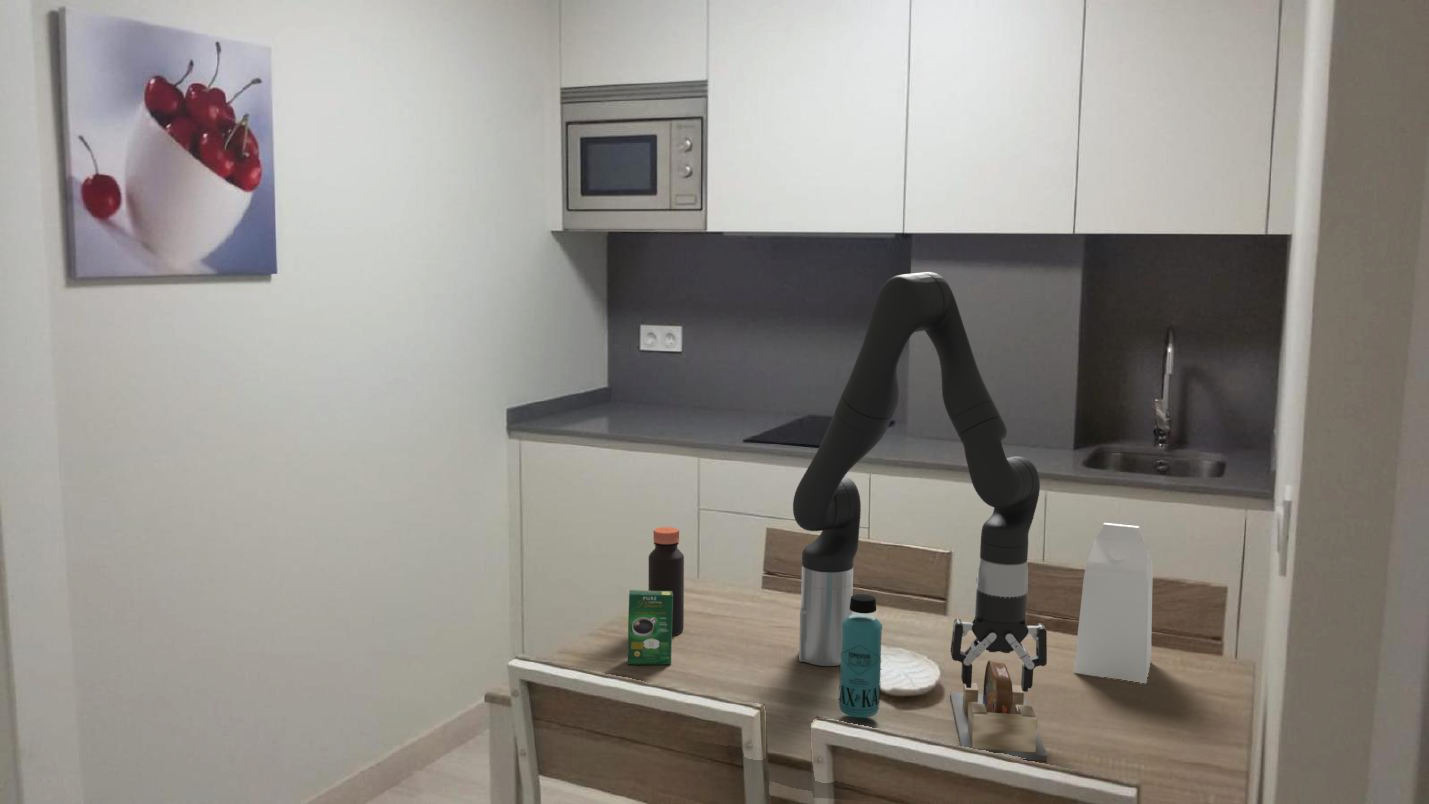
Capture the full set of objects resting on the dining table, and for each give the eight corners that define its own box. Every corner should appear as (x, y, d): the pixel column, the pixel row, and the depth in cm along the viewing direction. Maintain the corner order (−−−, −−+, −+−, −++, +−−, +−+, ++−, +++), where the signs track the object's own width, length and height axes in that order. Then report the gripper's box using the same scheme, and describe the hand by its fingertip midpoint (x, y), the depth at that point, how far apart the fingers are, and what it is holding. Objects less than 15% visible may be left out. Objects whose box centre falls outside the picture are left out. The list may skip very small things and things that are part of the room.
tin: (981, 702, 181) (983, 652, 180) (1001, 703, 180) (1003, 653, 179) (991, 741, 166) (993, 687, 165) (1012, 743, 166) (1015, 689, 165)
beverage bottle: (834, 710, 179) (837, 590, 176) (875, 709, 179) (878, 589, 177) (842, 728, 172) (845, 603, 170) (884, 726, 173) (888, 602, 170)
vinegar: (690, 629, 217) (690, 529, 214) (670, 639, 211) (670, 536, 209) (661, 622, 221) (662, 524, 218) (641, 632, 215) (641, 531, 212)
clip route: (962, 755, 163) (964, 718, 163) (950, 696, 185) (951, 663, 184) (1046, 761, 162) (1048, 722, 161) (1024, 701, 183) (1025, 667, 183)
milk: (1150, 662, 202) (1159, 521, 198) (1146, 684, 191) (1155, 536, 188) (1081, 651, 207) (1089, 514, 203) (1073, 672, 196) (1081, 528, 193)
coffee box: (672, 659, 201) (673, 589, 199) (672, 665, 198) (673, 594, 196) (627, 659, 200) (627, 589, 199) (627, 665, 198) (627, 594, 196)
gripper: (956, 592, 168) (951, 694, 170) (1054, 597, 166) (1047, 700, 168) (952, 577, 175) (947, 676, 177) (1045, 582, 173) (1039, 681, 176)
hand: (996, 688), depth 173 cm, fingers open, 8 cm apart
